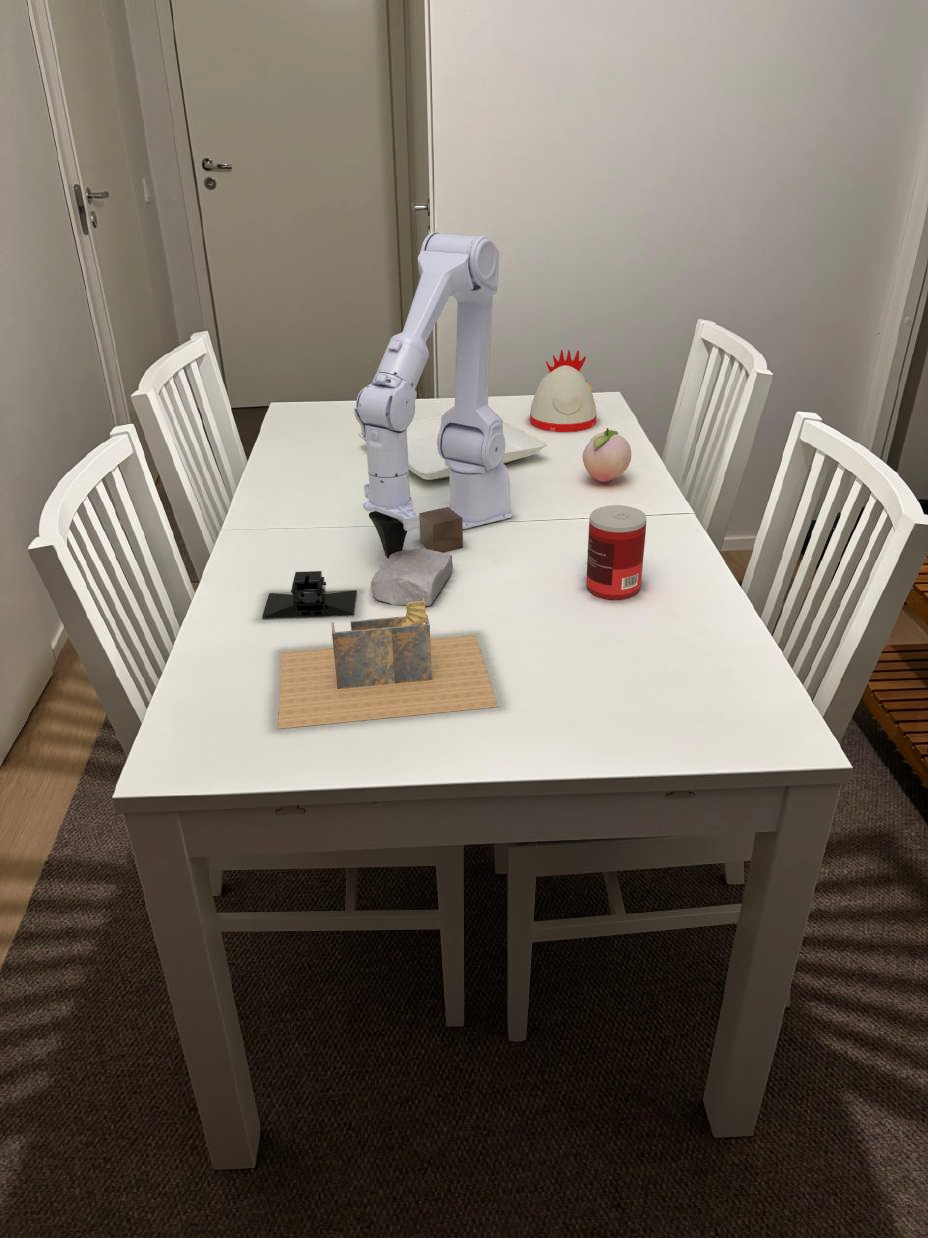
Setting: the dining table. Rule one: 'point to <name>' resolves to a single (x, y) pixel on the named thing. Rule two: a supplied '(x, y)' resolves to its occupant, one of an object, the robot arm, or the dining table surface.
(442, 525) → the walnut cube
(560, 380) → the kitchen timer
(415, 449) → the square plate
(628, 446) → the decorative fruit
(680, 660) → the dining table surface
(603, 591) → the canned food
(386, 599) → the stone block
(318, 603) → the build plate
